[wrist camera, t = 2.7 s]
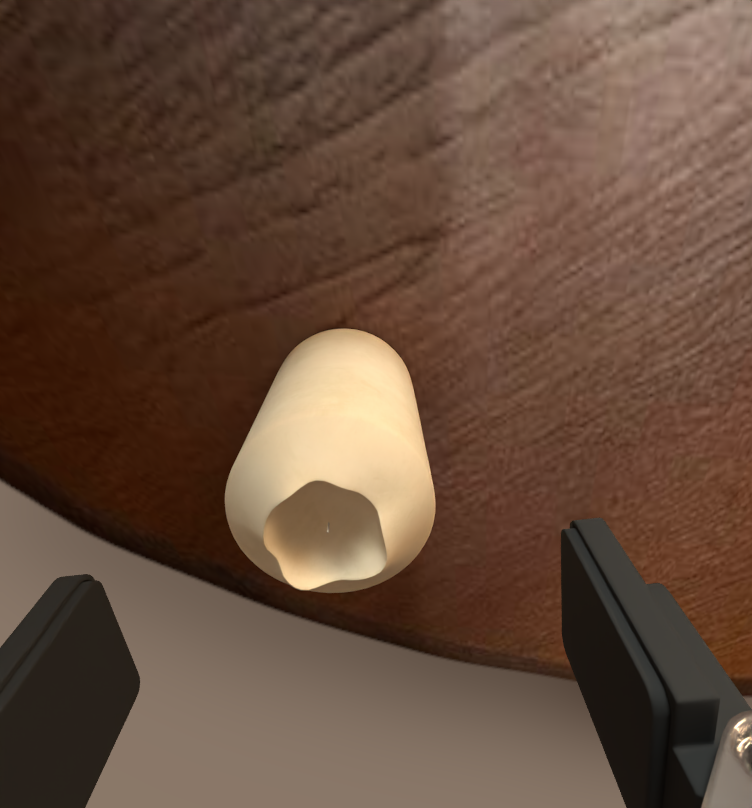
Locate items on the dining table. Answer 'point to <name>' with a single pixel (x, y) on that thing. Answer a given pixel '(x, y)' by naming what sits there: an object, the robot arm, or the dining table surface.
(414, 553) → the candle
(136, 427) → the dining table surface
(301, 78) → the dining table surface
